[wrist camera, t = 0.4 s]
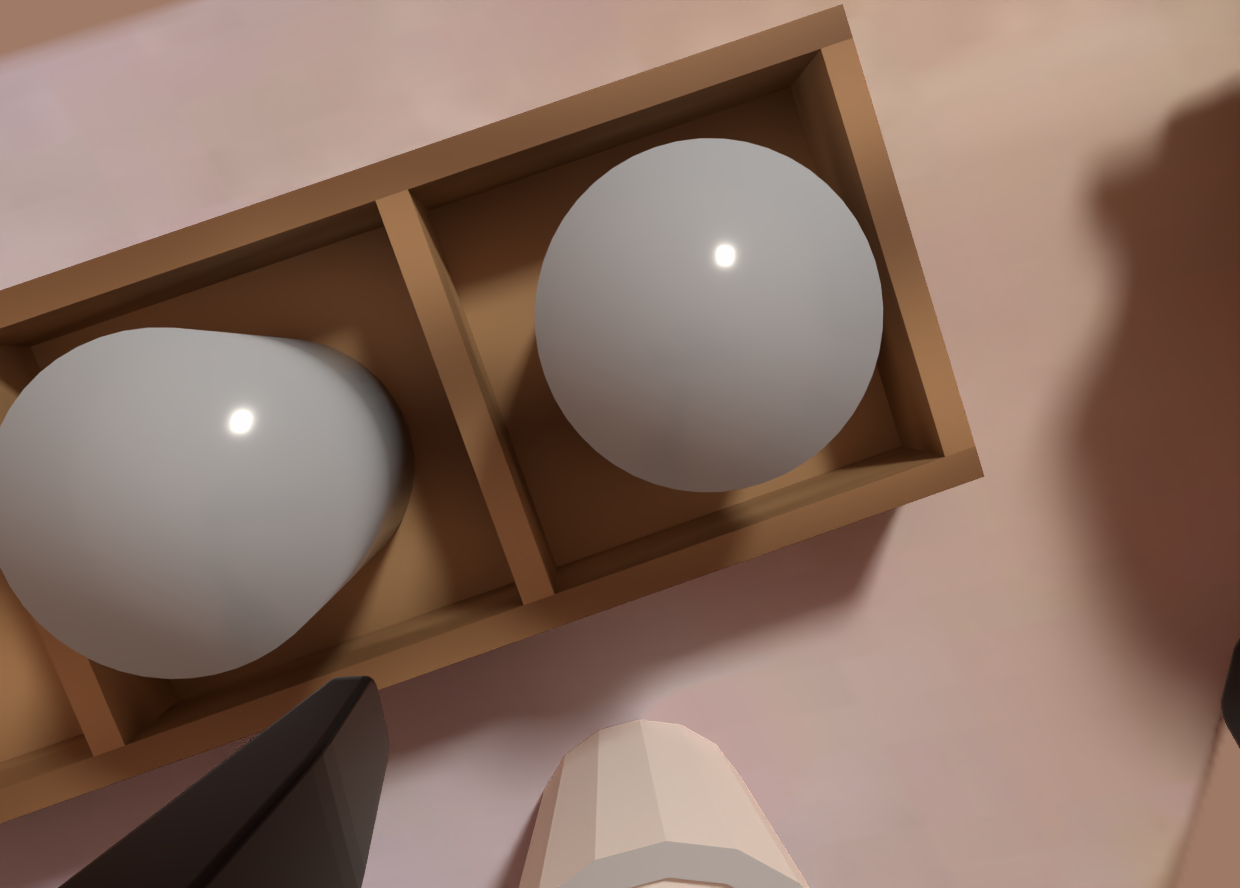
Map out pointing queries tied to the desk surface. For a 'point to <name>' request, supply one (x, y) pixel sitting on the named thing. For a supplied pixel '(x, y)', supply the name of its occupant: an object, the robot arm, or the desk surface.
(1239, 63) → the desk surface
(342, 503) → the white rounded cylinder
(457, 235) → the rack
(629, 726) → the shot glass
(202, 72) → the desk surface
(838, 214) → the pale grey cylinder
